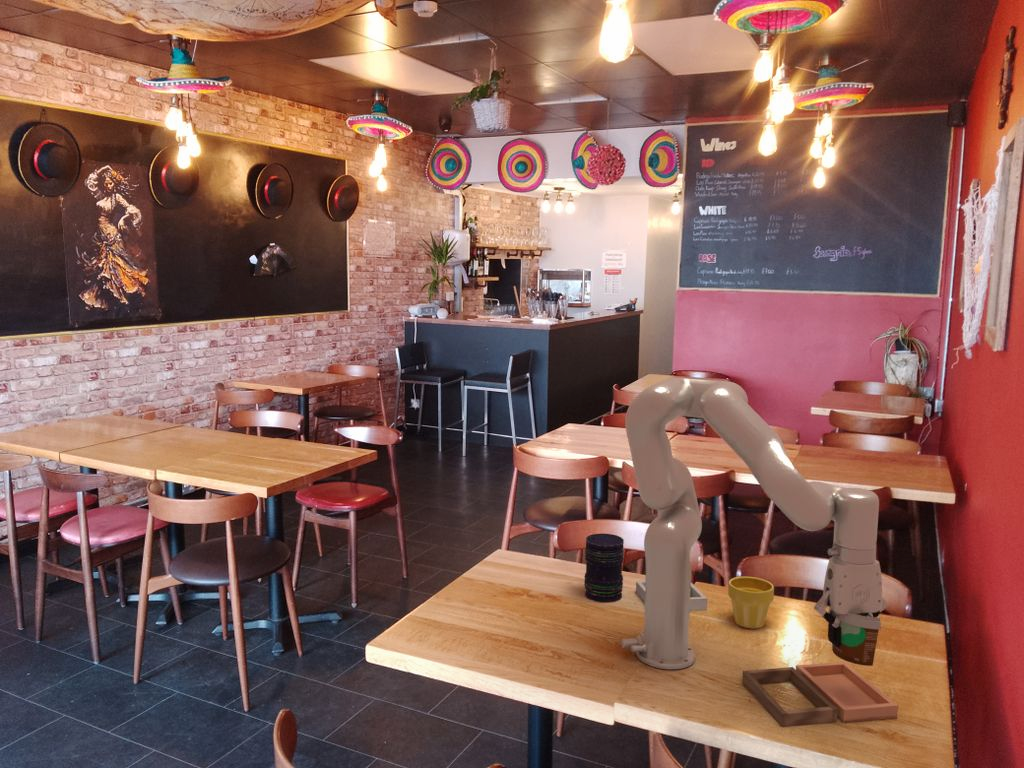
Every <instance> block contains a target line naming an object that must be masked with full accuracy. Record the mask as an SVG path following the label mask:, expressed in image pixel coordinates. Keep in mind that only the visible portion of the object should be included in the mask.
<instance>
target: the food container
mask: <svg viewBox="0 0 1024 768" xmlns="http://www.w3.org/2000/svg"><path fill="white" fill-rule="evenodd" d="M829 608H830V607H828V609H829ZM835 614H836V613H835V612H834V611H832V615H833V616H834V617H835ZM838 619H839V620H841V622H840V624H839V627H841V646H840V647H836V646H835V645H833V644H832V643H831V646H832V647H831V649H832V650H831V651H832V653H833V654H834V655H835V656H836V657H837V658H839V659H841V660H842V661H844V662H848V663H851V664H855V665H858V666H867V667H871V666H872V667H873V666H874V659H875V654H876V648H877V643H878V636H879V631H880V630H882V621H881V617H876V618H875V617H872V616H870V615H869V614H868V613H866V614H853V613H850V612H848V614H847V615H839V617H838Z"/></svg>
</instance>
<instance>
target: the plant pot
mask: <svg viewBox="0 0 1024 768" xmlns="http://www.w3.org/2000/svg"><path fill="white" fill-rule="evenodd" d="M727 587H728V588H727V590H728V592H727V595H728V598H729V599H731V600H730V601H731V605H732V610H733V611H732V613H733V617H734V621H735V623H736V624H737V626H740V627H742V628H746V629H749V630H751V629H754V630H755V629H761V628H763V627H764V626H765V623H766V620H767V619H766V618H767V614H768V611H769V609H770V604H771V603H773V601H774V597H775V596H774V595H775V586H774V585H773V583H771V582H770V581H768V580H766V579H763V578H760V577H754V576H736V577H733V578H731V579H729V581H728V586H727Z"/></svg>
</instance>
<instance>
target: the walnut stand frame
mask: <svg viewBox="0 0 1024 768" xmlns="http://www.w3.org/2000/svg"><path fill="white" fill-rule="evenodd" d="M787 682H790V683H791V684H792V685H793V686H795V688H796V689H798V691H800V693H801V694H803V695H804V696H805V697H806V698H807V699H808V700H809V701H810V703H812V704H813V706H815V707H812V708H809V707H808V708H802V709H801V708H799V709H789V710H788V709H787V710H786V709H784V708H783V707H782V706H781V705H780V703H779V702H778V701H776V699H775V698H774V697H773V696H772V695H771V694H770V693H769V692H768V691H767V690H766V689H765V687H763V685H764V684H773V683H775V684H776V683H787ZM741 683H742V685H744V687H745V688H746V689H747V690H748V691H749V692H750V693H751V695H753V697H755V699H756V700H757V701H758V702H759V703H760V704H761V705H762V706H763V708H764V709H766V711H767V713H769V714H770V715H771V716H772V718H773V719H774V720H775V721H776V722H777V723H778V724H779V725H780V726H781V728H782V727H783V728H784V727H793V726H795V727H797V726H804V725H805V726H807V725H815V724H816V725H817V724H825V723H827V724H829V723H837V722H838V717H837V714H838V709H837V708H836V707H835V706H834V705H833V704H832V703H831V702H830V701H829V700H828V699H826V698H825V697H824V696H823V695H822V694H821V693H820V692H819V691H818V690H817V689H816V688H815V687H814V686H813V685H812V684H810V683H809V682H808V681H807V680H806V679H805V678H804V677H803V676H802V675H801V674H800V673H799V672H798V671H797V670H796V668H795V667H794V666H791V667H788V666H787V667H777V668H776V667H775V668H765V669H751V670H749V669H748V670H742V677H741Z"/></svg>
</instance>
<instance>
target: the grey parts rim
mask: <svg viewBox="0 0 1024 768" xmlns="http://www.w3.org/2000/svg"><path fill="white" fill-rule="evenodd" d="M645 581H646V580H638V581H636V582H635V593H636V594H637V596H638V597H639V598H640V599H641V601H642V602H643V603H644V604H645V588H646V586H645ZM707 610H708V597H707V596H705V594H704V593H703V592H702V591H701V590H699V589H698V588H697V587H696V585H694V583H692V582H691V592H690V612H693V611H707Z"/></svg>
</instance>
